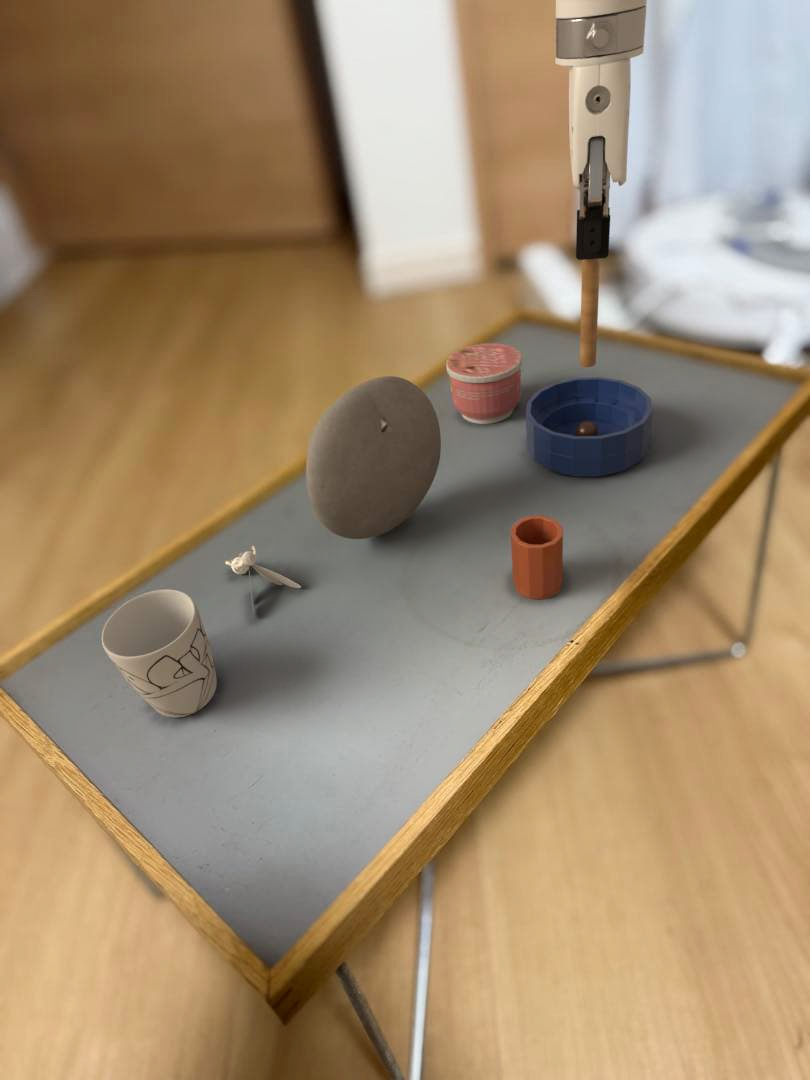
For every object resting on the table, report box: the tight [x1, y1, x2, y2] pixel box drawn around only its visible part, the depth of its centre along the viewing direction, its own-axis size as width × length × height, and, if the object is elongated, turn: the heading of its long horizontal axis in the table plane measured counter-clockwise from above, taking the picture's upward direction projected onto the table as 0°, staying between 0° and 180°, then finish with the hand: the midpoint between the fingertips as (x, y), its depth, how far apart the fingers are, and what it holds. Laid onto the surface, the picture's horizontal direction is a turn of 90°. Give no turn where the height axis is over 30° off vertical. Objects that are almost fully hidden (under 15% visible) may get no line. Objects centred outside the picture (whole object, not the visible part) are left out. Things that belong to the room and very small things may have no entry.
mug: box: [101, 588, 218, 719], centre depth 66 cm, size 11×8×10 cm
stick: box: [579, 195, 601, 368], centre depth 75 cm, size 2×2×18 cm
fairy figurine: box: [225, 545, 302, 615], centre depth 79 cm, size 6×7×7 cm
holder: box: [510, 515, 564, 600], centre depth 71 cm, size 5×5×7 cm
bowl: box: [525, 376, 654, 477], centre depth 90 cm, size 15×15×6 cm
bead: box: [575, 421, 599, 436], centre depth 90 cm, size 3×3×3 cm
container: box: [445, 342, 523, 425], centre depth 100 cm, size 10×10×8 cm
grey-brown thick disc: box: [305, 375, 442, 540], centre depth 78 cm, size 18×7×19 cm, turn 132°
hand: (591, 252), depth 73 cm, fingers closed on stick, 1 cm apart
